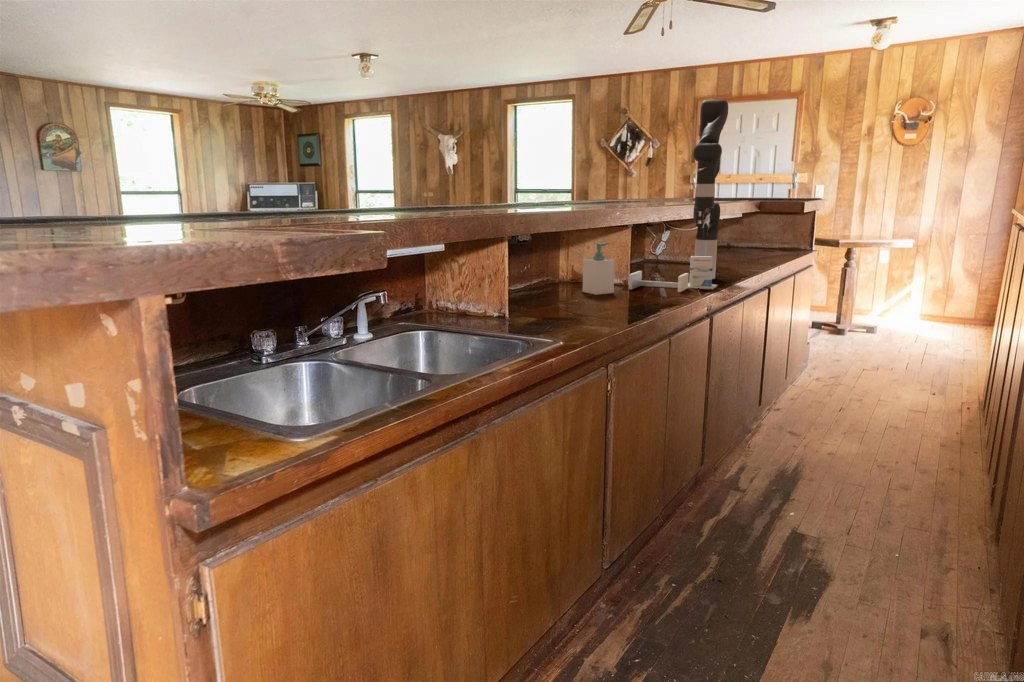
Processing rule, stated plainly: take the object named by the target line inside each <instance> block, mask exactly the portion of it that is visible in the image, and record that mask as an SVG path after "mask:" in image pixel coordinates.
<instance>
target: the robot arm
mask: <svg viewBox="0 0 1024 682" xmlns="http://www.w3.org/2000/svg"><path fill="white" fill-rule="evenodd" d="M728 114H729V102H728V101H727V100H725V99H705V100H703V101H702V102H701V106H700V116H699V120H700V121H699V123H700V124H699V126H700V127H699V128H700V129H699V131H700V132H699V133H700V134H699V141H698V142H697V143H696V144H695V147H694V149H693V153H692V154H693V155H692V156H693V158H694V160H695V161H696V162H697V172H696V184H695V192H694V193H695V194H694V204H693V213H692V214H693V215H692V216H693V218H692V219H693V221H694V223H695V226H696V228H697V231H696V234H695V246H694V256H712V257H713V268H712V280H715V279H716V270H717V269H716V267H717V255H718V254H717V252H718V236H719V227H720V218H721V205H720V204H719V202H717V201H715V199H716V197H715V196H716V178H717V177H718V175H719V173H720V169H721V156H722V153H723V149H722V148H723V147H722V146H721V144H720V137H721V133H722V131H723V128H724V126H725V124H726V123H727V120H728V116H729V115H728Z"/></svg>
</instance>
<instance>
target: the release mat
mask: <svg viewBox="0 0 1024 682" xmlns="http://www.w3.org/2000/svg"><path fill="white" fill-rule="evenodd" d="M717 287H718V284H713V283H712V286H690V284H689V282H688V288H687V289H698V288H699V289H701V290H714V289H715V288H717Z"/></svg>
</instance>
